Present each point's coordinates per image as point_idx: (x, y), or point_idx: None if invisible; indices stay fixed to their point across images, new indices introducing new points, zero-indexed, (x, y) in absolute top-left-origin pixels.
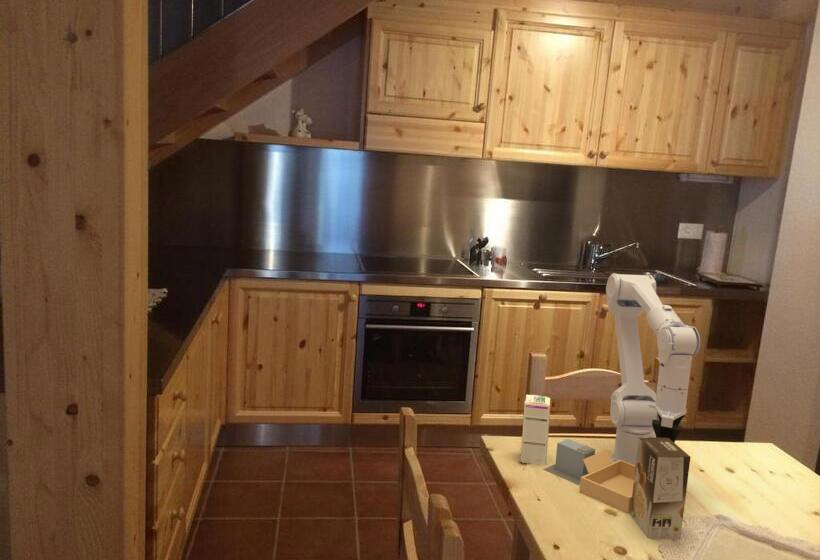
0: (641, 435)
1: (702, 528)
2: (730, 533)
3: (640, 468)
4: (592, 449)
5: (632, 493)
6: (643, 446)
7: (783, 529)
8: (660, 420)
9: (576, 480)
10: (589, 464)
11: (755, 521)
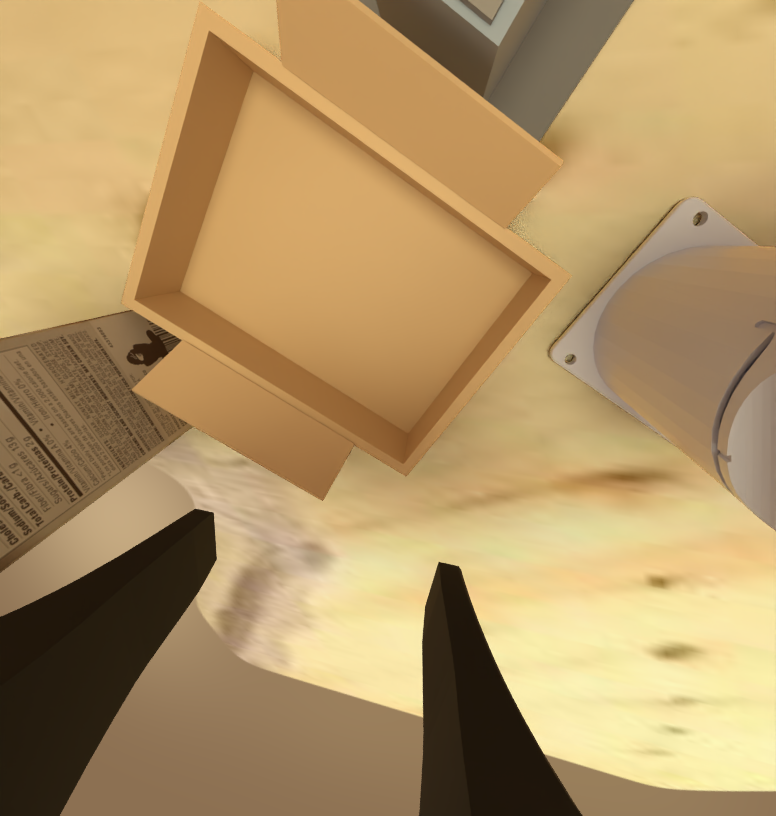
0: (709, 452)
1: (222, 499)
2: (234, 552)
3: None
4: (475, 11)
5: (98, 318)
6: None
7: (318, 650)
8: (459, 753)
9: (376, 13)
10: (315, 37)
11: (331, 615)
